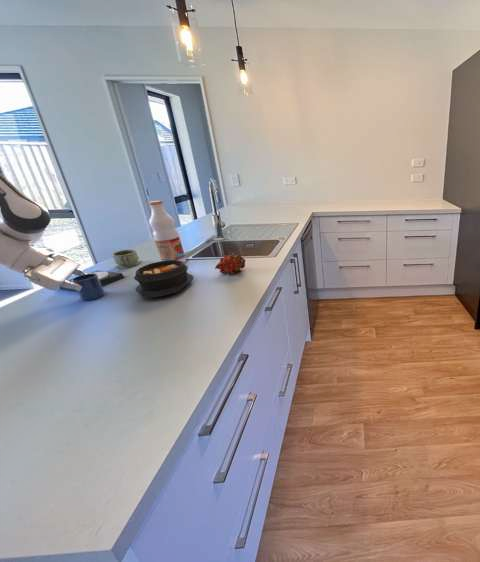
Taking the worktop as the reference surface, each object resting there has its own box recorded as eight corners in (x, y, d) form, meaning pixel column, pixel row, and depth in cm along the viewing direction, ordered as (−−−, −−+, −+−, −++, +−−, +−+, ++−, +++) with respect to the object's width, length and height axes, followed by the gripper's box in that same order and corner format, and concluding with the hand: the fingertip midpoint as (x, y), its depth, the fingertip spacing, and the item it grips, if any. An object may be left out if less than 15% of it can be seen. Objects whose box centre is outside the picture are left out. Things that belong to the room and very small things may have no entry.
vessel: (117, 263, 139) (112, 250, 136) (140, 259, 144) (135, 246, 141) (116, 271, 130) (110, 257, 128) (141, 266, 135) (136, 253, 132)
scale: (60, 289, 115) (56, 282, 113) (99, 275, 127) (96, 268, 126) (86, 292, 111) (83, 286, 110) (124, 278, 123) (121, 271, 122)
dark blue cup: (77, 300, 105) (67, 279, 102) (97, 292, 111) (88, 272, 108) (90, 302, 104) (80, 281, 101) (109, 294, 109) (101, 274, 106)
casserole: (193, 295, 107) (186, 273, 104) (130, 307, 100) (120, 284, 97) (196, 271, 128) (191, 253, 124) (144, 280, 121) (136, 260, 117)
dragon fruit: (250, 273, 129) (221, 283, 124) (243, 258, 132) (215, 267, 127) (247, 262, 122) (216, 272, 117) (240, 246, 125) (209, 256, 120)
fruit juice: (163, 262, 140) (142, 201, 128) (186, 258, 144) (168, 198, 133) (162, 268, 132) (140, 204, 121) (186, 263, 137) (168, 201, 125)
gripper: (24, 265, 89) (81, 287, 97) (52, 246, 105) (99, 266, 113) (12, 281, 89) (70, 302, 97) (41, 260, 105) (88, 280, 113)
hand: (85, 283), depth 105 cm, fingers open, 8 cm apart
